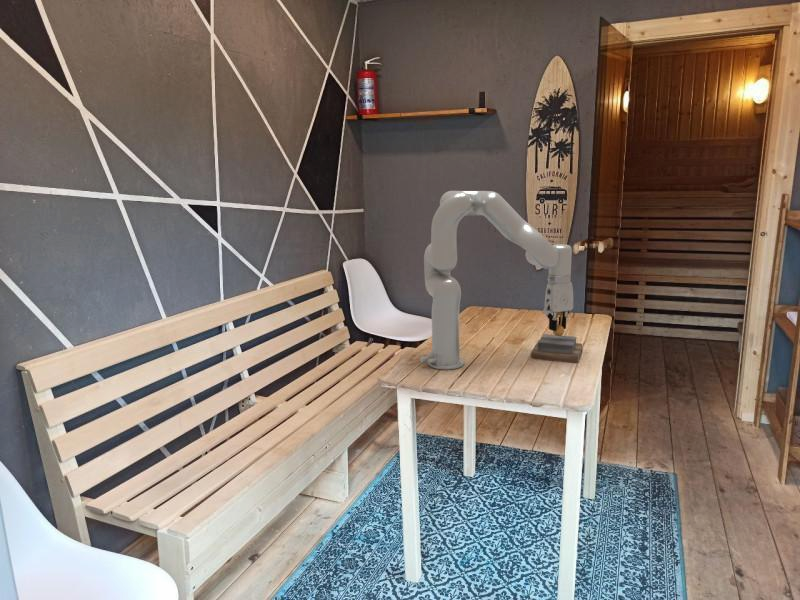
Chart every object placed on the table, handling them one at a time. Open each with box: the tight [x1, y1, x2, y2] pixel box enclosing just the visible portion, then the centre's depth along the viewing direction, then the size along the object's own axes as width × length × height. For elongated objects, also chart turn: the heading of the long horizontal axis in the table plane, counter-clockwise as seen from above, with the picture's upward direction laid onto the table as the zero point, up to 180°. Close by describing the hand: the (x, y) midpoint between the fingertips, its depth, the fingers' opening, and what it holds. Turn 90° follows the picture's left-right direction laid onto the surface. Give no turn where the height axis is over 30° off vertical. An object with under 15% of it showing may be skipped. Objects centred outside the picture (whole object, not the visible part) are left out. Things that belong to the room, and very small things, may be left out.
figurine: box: [552, 310, 572, 336], centre depth 203 cm, size 8×6×12 cm
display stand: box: [530, 333, 583, 364], centre depth 205 cm, size 16×16×6 cm
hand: (557, 328), depth 204 cm, fingers closed on figurine, 3 cm apart
